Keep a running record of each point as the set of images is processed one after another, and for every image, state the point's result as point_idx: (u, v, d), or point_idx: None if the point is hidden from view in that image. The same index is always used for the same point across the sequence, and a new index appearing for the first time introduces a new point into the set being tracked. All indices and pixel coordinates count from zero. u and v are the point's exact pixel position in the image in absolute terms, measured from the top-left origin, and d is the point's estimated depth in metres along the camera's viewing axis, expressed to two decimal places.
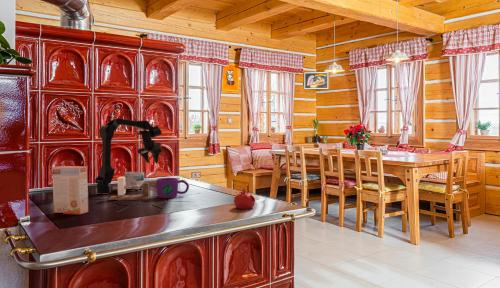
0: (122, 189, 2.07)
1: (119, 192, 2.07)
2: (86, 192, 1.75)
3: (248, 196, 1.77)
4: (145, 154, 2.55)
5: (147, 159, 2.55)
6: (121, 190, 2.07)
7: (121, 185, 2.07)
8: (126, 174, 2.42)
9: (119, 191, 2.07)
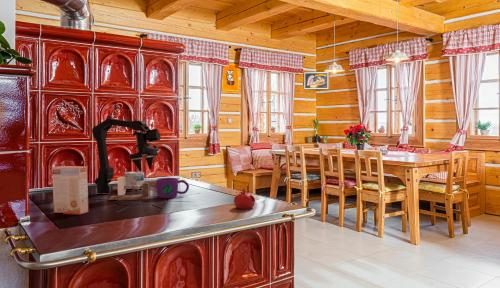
0: (122, 189, 2.07)
1: (119, 192, 2.07)
2: (86, 192, 1.75)
3: (248, 196, 1.77)
4: (149, 159, 2.26)
5: (149, 165, 2.26)
6: (121, 190, 2.07)
7: (121, 185, 2.07)
8: (126, 174, 2.42)
9: (119, 191, 2.07)
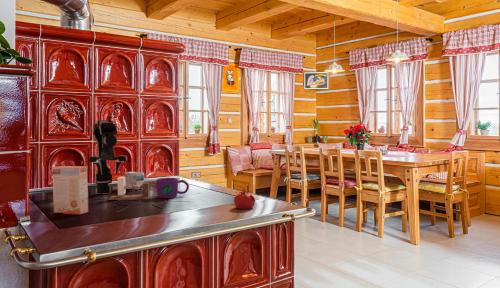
0: (122, 189, 2.07)
1: (119, 192, 2.07)
2: (86, 192, 1.75)
3: (248, 196, 1.77)
4: None
5: (116, 170, 2.10)
6: (121, 190, 2.07)
7: (121, 185, 2.07)
8: (126, 174, 2.42)
9: (119, 191, 2.07)
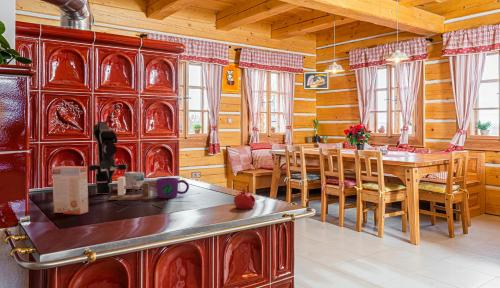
0: (122, 189, 2.07)
1: (119, 192, 2.07)
2: (86, 192, 1.75)
3: (248, 196, 1.77)
4: None
5: None
6: (121, 190, 2.07)
7: (121, 185, 2.07)
8: (126, 174, 2.42)
9: (119, 191, 2.07)
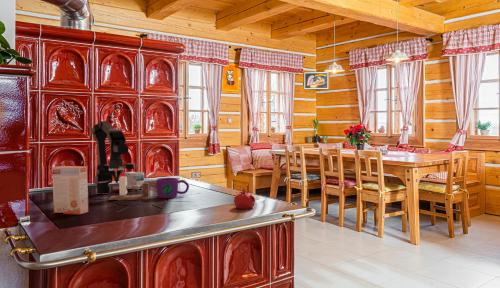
0: (124, 189, 2.07)
1: (121, 192, 2.07)
2: (86, 192, 1.75)
3: (248, 196, 1.77)
4: None
5: None
6: (123, 190, 2.07)
7: (123, 185, 2.07)
8: (126, 174, 2.42)
9: (121, 191, 2.07)
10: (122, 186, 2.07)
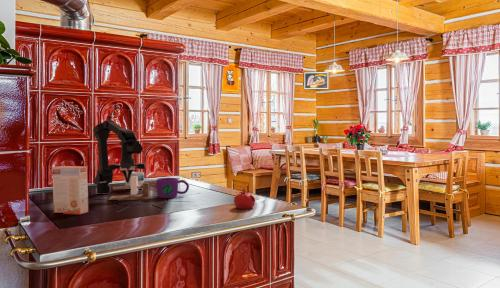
0: (135, 188, 2.08)
1: (132, 191, 2.08)
2: (86, 192, 1.75)
3: (248, 196, 1.77)
4: None
5: None
6: (134, 190, 2.08)
7: (134, 185, 2.08)
8: None
9: (132, 190, 2.08)
10: (133, 186, 2.08)
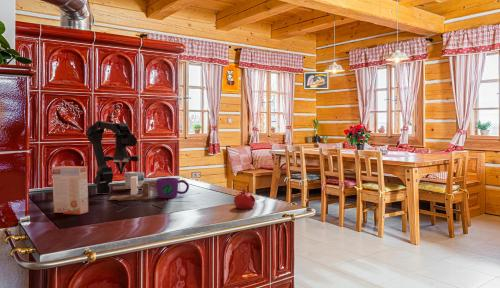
0: (135, 188, 2.08)
1: (132, 191, 2.08)
2: (86, 192, 1.75)
3: (248, 196, 1.77)
4: None
5: None
6: (134, 190, 2.08)
7: (134, 185, 2.08)
8: (126, 174, 2.42)
9: (132, 190, 2.08)
10: (133, 186, 2.08)
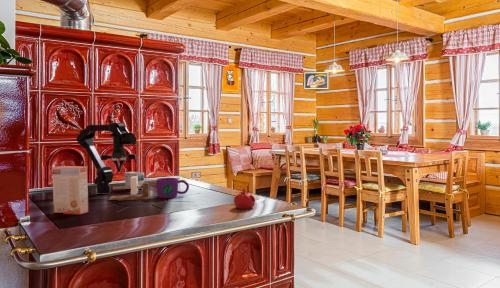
0: (135, 188, 2.08)
1: (132, 191, 2.08)
2: (86, 192, 1.75)
3: (248, 196, 1.77)
4: (120, 162, 2.23)
5: None
6: (134, 190, 2.08)
7: (134, 185, 2.08)
8: (126, 174, 2.42)
9: (132, 190, 2.08)
10: (133, 186, 2.08)
